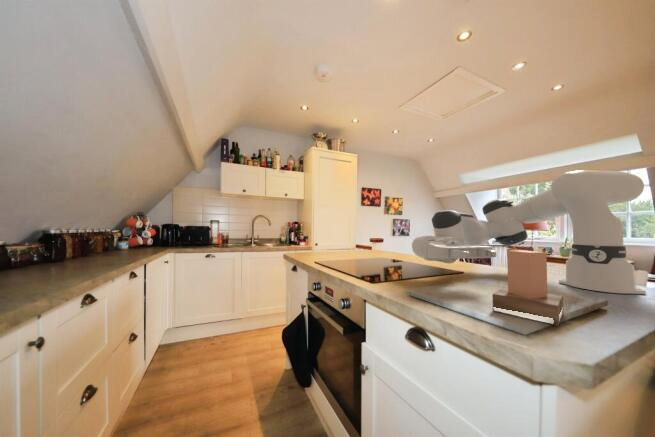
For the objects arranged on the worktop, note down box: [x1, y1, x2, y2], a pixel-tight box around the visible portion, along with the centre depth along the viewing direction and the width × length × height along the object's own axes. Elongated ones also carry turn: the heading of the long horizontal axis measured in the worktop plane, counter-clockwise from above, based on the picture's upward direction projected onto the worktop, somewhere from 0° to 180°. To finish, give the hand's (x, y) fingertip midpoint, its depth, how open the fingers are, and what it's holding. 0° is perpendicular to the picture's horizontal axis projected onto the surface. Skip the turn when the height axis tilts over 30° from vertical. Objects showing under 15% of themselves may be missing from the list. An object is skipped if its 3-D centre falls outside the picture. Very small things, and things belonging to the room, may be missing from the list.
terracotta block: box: [506, 249, 548, 299], centre depth 56 cm, size 5×5×10 cm
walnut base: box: [492, 286, 564, 327], centre depth 55 cm, size 11×11×4 cm
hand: (481, 254), depth 67 cm, fingers open, 8 cm apart
